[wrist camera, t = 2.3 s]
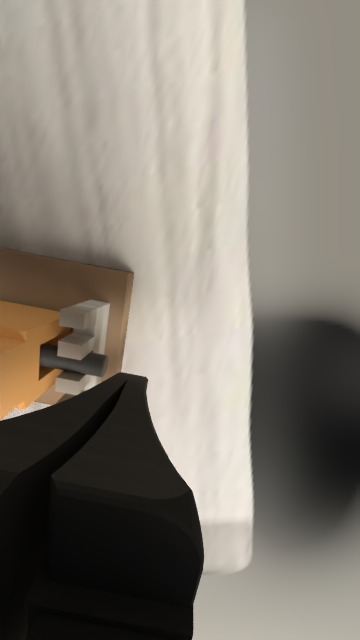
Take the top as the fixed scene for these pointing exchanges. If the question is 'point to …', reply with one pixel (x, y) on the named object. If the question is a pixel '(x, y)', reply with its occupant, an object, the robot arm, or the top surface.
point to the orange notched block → (26, 353)
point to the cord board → (72, 316)
